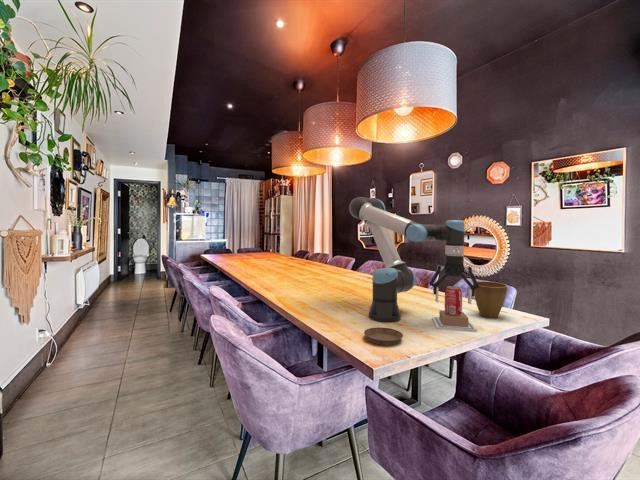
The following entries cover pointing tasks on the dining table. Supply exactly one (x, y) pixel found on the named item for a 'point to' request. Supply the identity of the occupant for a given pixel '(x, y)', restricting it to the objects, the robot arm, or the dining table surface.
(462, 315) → the base
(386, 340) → the saucer
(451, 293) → the soda can
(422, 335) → the dining table surface
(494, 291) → the plant pot
